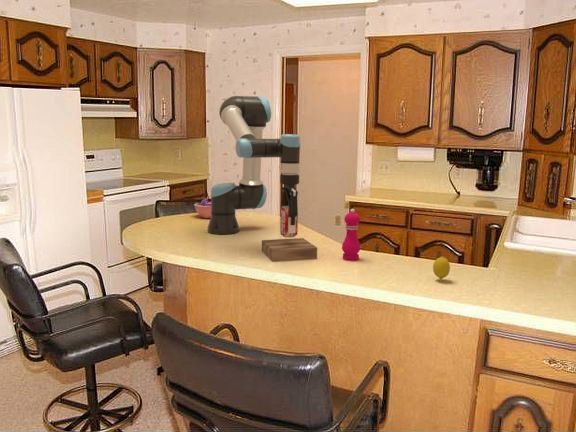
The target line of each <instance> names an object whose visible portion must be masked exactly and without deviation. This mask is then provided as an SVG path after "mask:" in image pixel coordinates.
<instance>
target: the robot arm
mask: <svg viewBox="0 0 576 432" xmlns="http://www.w3.org/2000/svg"><path fill="white" fill-rule="evenodd" d="M219 116H220V120H221V122H223V124H224V125H226V126H227V127H228V129H229V131H230V133H231V134H232V136H233V138H234V140H235V141H236V142H235V153H236V156H237V157H239V158H242V159H243V160H242V178H241V179H240V180H238V182H239V183H238V184H239V185H236V183H235V182H223V183H222V182H221V183H217V184H214V185H213V186H212V187H211V189H210V202H211V218H209V221H208V224H207V225H208V226H207V232H208V233H209V234H212V235H213V234H214V235H233V234H236V233H239V232H240V226H239V222H238V219H237V217H236V210H255V209H261V208H263V207H264V206H265V203H266V201H267V196H268V195H267V193H268V192H267V187H266V185H264V182H263V181H262V180H261V170H262V168H261V167H262V158H264V159H265V158H279V159H280V165H279V166H278V167H279V169H280V177H279V181H280V182H279V183H280V185H283V186H282V187H281V205H280V206H281V209H282V206H289V215H288V217H289V219H288V233H295V228H296V216H298V217H299V210H298V195H299V194H298V193H299V192H298V190H296V187H295V186H296V185H299V183H300V174H299V173H300V172H301V171H300V169H301V167H300V166H301V165H300V164H301V163H300V152H301V140H300V135H299V134H292V133H291V134H289V133H284V134H281V135H280V137H278V138H263V132H264V129H265V128H266V127H267V123H269V122H270V121H271V118H272V109H271V104H270V101H269V100H268V99H267V98H266V97H263V96H253V95H252V96H251V95H250V96H248V95H247V96H245V95H244V96H243V95H233V96H230V97H228V98H227V99H225V100H224V101H223V102H222V103H221V105H220V106H219Z"/></svg>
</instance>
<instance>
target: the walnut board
mask: <svg viewBox="0 0 576 432" xmlns="http://www.w3.org/2000/svg"><path fill="white" fill-rule="evenodd" d="M261 251H262V253H263V254H264V255H265V256H266V257H267V258H269V260H271V262H274V263H276V262H288V261H289V262H291V261H304V260H305V261H306V260H317V259H318V247H317V246H316V245H314V244H313V243H311V242H310V241H308V240H307V239H306V238H304V237H296V238H295V237H293V238H278V239H277V238H275V239H274V238H273V239H262V240H261Z"/></svg>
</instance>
